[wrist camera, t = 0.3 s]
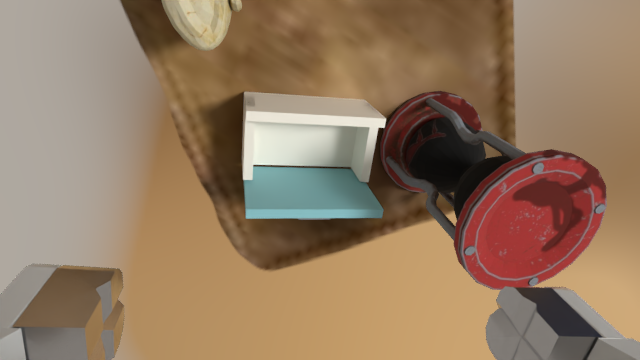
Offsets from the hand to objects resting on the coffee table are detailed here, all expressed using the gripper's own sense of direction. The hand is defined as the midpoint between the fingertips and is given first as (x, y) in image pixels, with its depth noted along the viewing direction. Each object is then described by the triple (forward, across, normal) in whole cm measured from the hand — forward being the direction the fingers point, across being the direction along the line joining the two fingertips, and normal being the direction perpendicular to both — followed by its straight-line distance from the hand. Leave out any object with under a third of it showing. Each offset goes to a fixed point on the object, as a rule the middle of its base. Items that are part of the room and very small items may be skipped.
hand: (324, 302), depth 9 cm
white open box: (+48, -6, +10) cm, 50 cm away
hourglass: (+50, -26, +10) cm, 57 cm away
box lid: (+47, -6, +15) cm, 49 cm away
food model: (+47, +8, -6) cm, 48 cm away
